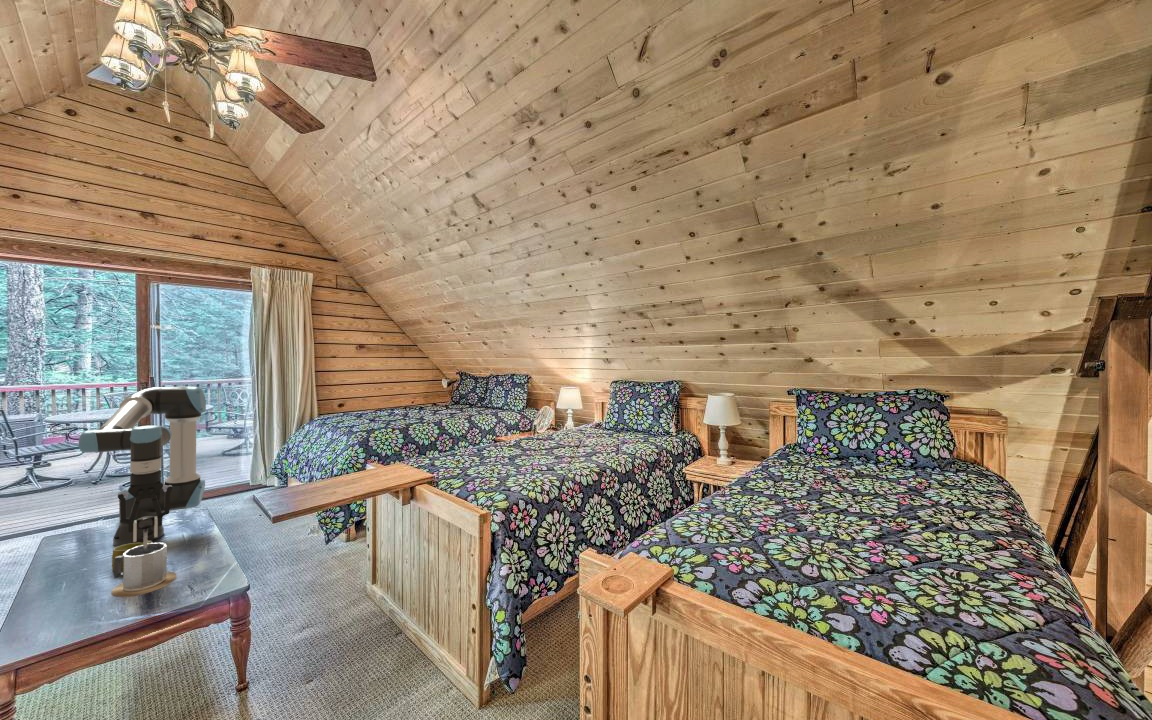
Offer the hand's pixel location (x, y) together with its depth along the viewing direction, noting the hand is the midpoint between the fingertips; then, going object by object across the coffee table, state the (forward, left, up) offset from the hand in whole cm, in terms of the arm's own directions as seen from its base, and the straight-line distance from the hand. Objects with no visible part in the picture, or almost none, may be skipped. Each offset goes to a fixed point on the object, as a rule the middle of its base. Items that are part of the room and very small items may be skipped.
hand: (145, 538), depth 147 cm
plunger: (0, 0, -13) cm, 13 cm away
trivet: (0, 0, -17) cm, 17 cm away
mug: (-18, -11, -17) cm, 27 cm away
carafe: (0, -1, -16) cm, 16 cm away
